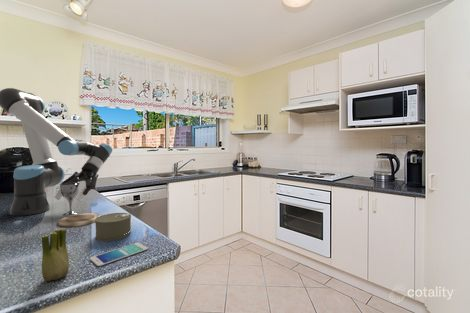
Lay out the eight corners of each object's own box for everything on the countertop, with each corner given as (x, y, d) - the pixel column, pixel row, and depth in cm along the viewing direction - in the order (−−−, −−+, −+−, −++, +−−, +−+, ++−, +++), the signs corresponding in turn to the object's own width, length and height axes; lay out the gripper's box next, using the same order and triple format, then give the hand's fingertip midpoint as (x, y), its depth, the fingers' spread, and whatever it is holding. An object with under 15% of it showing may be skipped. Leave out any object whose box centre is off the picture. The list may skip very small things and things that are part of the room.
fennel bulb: (43, 286, 55) (41, 236, 54) (39, 278, 58) (37, 231, 57) (72, 276, 59) (71, 230, 58) (67, 269, 62) (66, 225, 62)
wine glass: (59, 216, 110) (58, 185, 110) (62, 212, 118) (61, 182, 117) (79, 214, 114) (78, 184, 114) (81, 210, 121) (80, 181, 121)
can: (90, 235, 87) (90, 217, 87) (123, 227, 96) (123, 211, 95) (101, 244, 79) (101, 224, 78) (136, 235, 87) (136, 217, 87)
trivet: (75, 228, 94) (75, 225, 94) (48, 224, 99) (48, 221, 99) (109, 217, 109) (108, 214, 109) (84, 214, 114) (84, 211, 114)
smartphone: (149, 248, 75) (98, 266, 63) (149, 250, 75) (98, 269, 63) (138, 242, 80) (88, 257, 68) (138, 244, 80) (88, 260, 68)
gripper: (115, 171, 127) (92, 204, 113) (78, 170, 133) (53, 201, 119) (107, 162, 122) (83, 196, 108) (69, 161, 128) (42, 193, 114)
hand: (67, 199), depth 114 cm, fingers open, 13 cm apart
